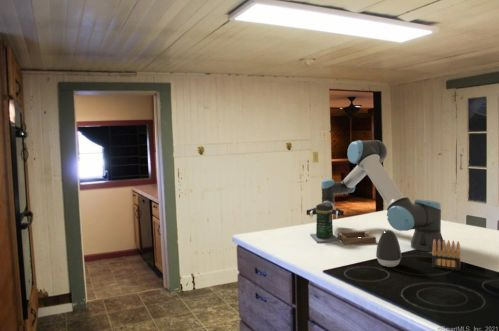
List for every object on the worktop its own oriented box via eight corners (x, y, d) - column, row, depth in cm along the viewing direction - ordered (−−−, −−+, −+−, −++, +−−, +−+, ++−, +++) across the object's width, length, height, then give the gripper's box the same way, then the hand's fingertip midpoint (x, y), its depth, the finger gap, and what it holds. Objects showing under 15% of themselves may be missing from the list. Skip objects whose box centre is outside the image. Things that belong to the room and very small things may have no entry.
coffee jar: (328, 239, 216) (327, 204, 215) (314, 238, 221) (313, 203, 219) (335, 235, 224) (334, 201, 223) (321, 234, 229) (321, 200, 227)
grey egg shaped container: (395, 260, 182) (395, 226, 180) (405, 268, 171) (405, 232, 170) (372, 261, 181) (372, 227, 180) (381, 269, 171) (380, 233, 170)
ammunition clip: (460, 269, 168) (460, 240, 167) (460, 271, 166) (460, 241, 165) (432, 266, 173) (432, 238, 173) (431, 267, 172) (431, 239, 171)
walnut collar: (375, 243, 211) (375, 237, 210) (345, 244, 209) (345, 239, 209) (366, 236, 225) (366, 231, 224) (337, 238, 223) (337, 232, 223)
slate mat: (339, 241, 215) (339, 240, 215) (317, 243, 214) (317, 241, 214) (331, 234, 231) (331, 232, 231) (310, 235, 230) (310, 233, 230)
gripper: (349, 215, 237) (347, 223, 216) (305, 214, 243) (300, 222, 223) (348, 202, 236) (347, 209, 216) (305, 201, 243) (300, 208, 222)
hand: (323, 215), depth 219 cm, fingers open, 13 cm apart
